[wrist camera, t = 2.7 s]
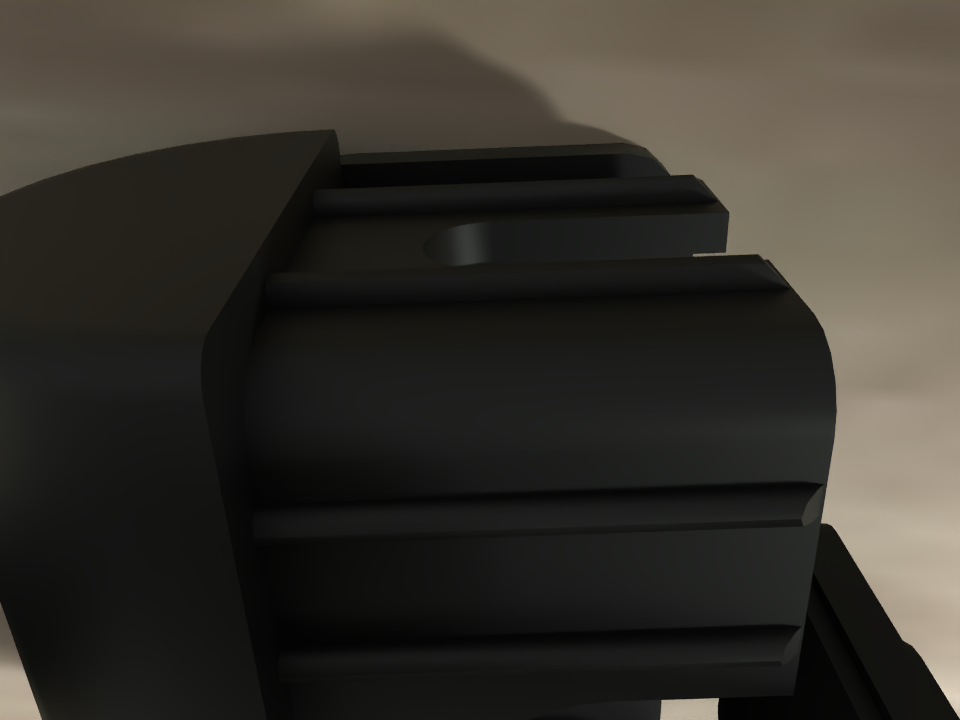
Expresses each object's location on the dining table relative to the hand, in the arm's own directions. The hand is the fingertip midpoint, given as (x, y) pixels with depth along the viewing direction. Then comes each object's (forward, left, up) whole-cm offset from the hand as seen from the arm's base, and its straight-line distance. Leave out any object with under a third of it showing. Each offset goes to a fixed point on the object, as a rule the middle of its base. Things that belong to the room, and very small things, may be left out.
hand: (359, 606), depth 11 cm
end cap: (0, 0, -3) cm, 3 cm away
